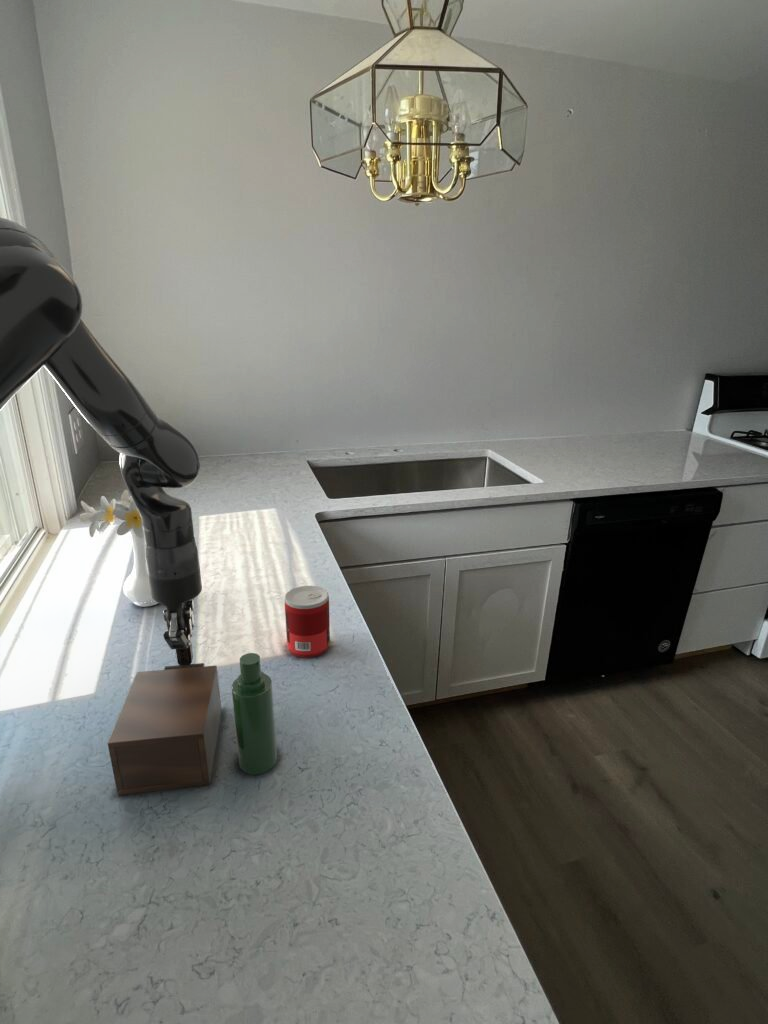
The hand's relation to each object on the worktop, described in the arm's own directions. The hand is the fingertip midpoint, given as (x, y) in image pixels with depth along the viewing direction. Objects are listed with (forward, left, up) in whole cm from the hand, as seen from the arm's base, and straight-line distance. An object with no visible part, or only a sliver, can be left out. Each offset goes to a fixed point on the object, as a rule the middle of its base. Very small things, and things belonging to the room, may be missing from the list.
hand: (185, 661), depth 91 cm
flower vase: (-14, +31, -5) cm, 35 cm away
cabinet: (0, -14, -5) cm, 15 cm away
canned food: (+20, +9, -5) cm, 23 cm away
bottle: (+12, -18, -5) cm, 22 cm away
